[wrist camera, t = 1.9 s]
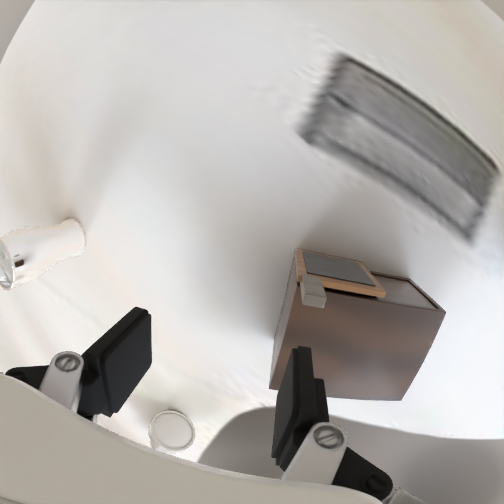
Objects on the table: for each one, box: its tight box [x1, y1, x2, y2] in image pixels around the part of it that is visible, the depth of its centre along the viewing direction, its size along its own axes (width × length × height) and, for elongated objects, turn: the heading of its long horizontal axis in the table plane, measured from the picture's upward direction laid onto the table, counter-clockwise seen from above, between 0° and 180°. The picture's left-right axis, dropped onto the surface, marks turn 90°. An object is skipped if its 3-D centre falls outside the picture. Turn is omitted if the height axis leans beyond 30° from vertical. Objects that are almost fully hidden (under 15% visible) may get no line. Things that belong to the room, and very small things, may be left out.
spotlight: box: [148, 410, 195, 454], centre depth 40 cm, size 8×11×8 cm
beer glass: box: [0, 219, 85, 290], centre depth 29 cm, size 7×7×15 cm
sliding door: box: [294, 249, 386, 308], centre depth 25 cm, size 1×8×14 cm, turn 80°
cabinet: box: [269, 256, 446, 401], centre depth 29 cm, size 12×16×10 cm
